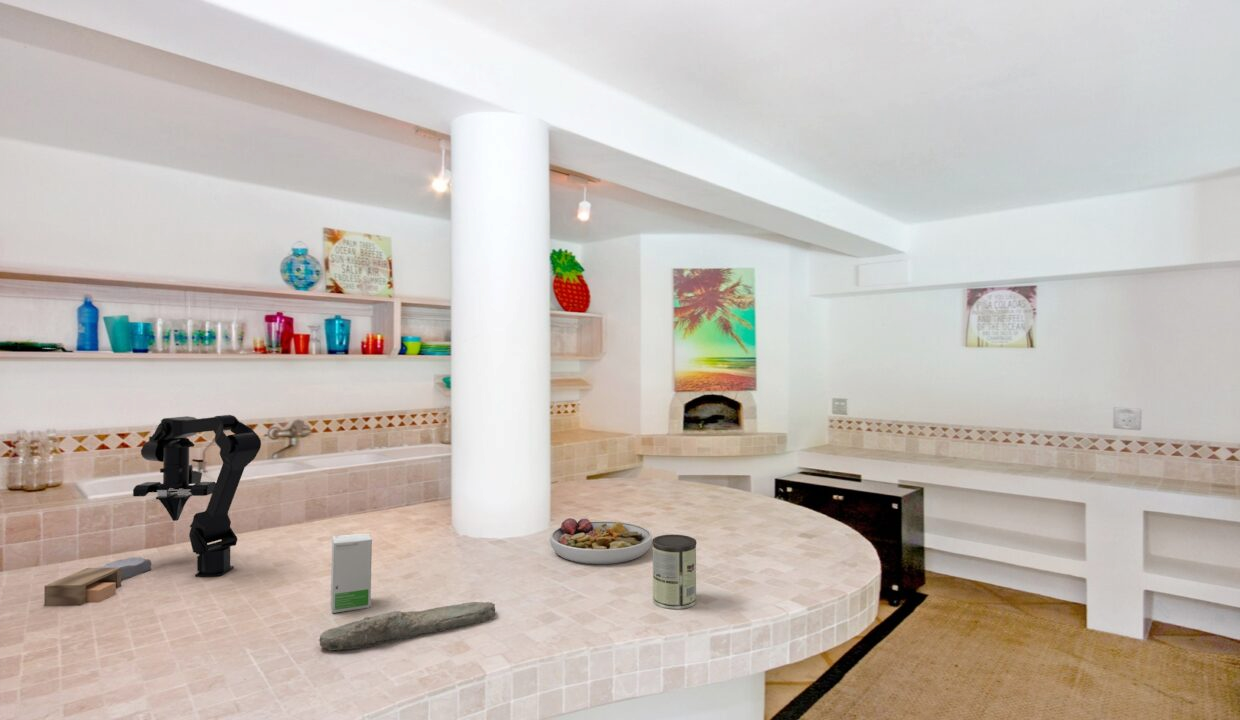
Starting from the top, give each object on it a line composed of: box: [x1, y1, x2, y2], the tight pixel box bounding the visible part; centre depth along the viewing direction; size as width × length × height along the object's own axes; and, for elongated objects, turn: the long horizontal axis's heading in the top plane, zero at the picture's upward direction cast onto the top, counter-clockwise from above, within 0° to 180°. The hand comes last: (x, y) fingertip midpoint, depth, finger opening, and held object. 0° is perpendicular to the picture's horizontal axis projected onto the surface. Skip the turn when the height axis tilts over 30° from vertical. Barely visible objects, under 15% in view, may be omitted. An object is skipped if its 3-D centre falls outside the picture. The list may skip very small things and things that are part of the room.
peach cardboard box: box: [86, 583, 117, 603], centre depth 144 cm, size 8×5×3 cm, turn 92°
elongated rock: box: [318, 601, 496, 652], centre depth 127 cm, size 35×5×10 cm
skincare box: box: [330, 533, 373, 614], centre depth 140 cm, size 8×7×16 cm
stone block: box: [95, 556, 152, 582], centre depth 159 cm, size 12×5×10 cm
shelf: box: [43, 567, 122, 607], centre depth 146 cm, size 8×12×4 cm, turn 3°
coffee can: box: [651, 534, 697, 610], centre depth 143 cm, size 10×10×14 cm
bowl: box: [549, 517, 653, 565], centre depth 181 cm, size 30×30×8 cm
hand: (175, 520), depth 167 cm, fingers closed
